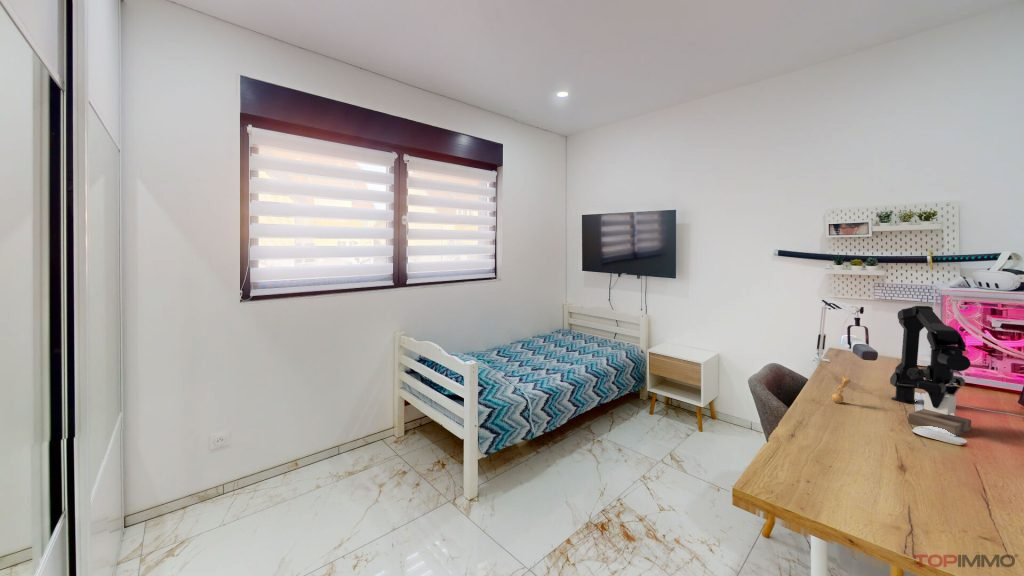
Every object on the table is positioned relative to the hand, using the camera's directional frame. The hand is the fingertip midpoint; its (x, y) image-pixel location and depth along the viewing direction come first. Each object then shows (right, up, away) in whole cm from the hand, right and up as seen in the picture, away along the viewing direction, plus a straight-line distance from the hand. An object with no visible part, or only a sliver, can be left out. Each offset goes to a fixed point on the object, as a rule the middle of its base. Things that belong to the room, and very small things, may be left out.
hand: (939, 406), depth 141 cm
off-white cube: (0, -2, 0) cm, 2 cm away
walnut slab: (0, -8, +1) cm, 8 cm away
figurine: (-16, -6, +24) cm, 29 cm away
